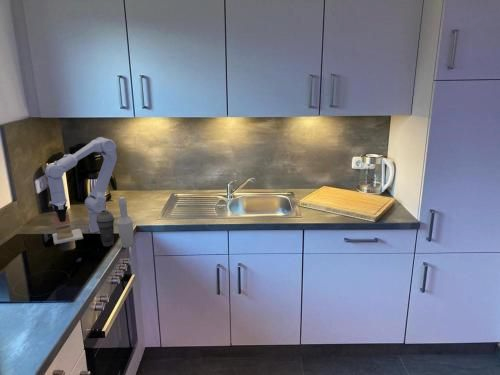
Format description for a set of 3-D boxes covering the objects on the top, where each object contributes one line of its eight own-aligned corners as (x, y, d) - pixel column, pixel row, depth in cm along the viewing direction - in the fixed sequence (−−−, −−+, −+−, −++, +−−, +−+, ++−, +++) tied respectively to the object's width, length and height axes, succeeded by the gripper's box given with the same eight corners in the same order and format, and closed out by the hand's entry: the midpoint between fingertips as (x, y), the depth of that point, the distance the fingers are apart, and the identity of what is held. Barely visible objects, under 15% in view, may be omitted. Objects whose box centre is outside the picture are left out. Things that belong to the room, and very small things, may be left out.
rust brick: (54, 223, 185) (53, 214, 183) (69, 220, 187) (67, 211, 186) (55, 226, 181) (53, 216, 180) (70, 223, 184) (68, 214, 183)
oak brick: (57, 236, 187) (55, 227, 185) (71, 233, 189) (69, 224, 188) (58, 239, 183) (56, 230, 182) (72, 236, 186) (70, 227, 185)
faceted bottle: (137, 242, 180) (131, 195, 174) (132, 248, 174) (127, 200, 168) (122, 242, 181) (117, 195, 174) (118, 248, 175) (111, 200, 168)
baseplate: (80, 230, 195) (79, 228, 195) (83, 238, 186) (82, 236, 186) (52, 235, 190) (52, 233, 190) (54, 244, 181) (53, 242, 180)
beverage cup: (106, 240, 184) (100, 197, 178) (120, 241, 182) (115, 199, 176) (96, 246, 177) (89, 203, 171) (110, 248, 175) (104, 204, 169)
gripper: (46, 188, 184) (51, 216, 188) (48, 197, 172) (53, 226, 176) (63, 186, 187) (68, 213, 191) (66, 194, 175) (71, 223, 179)
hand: (62, 219), depth 184 cm, fingers closed on rust brick, 4 cm apart
